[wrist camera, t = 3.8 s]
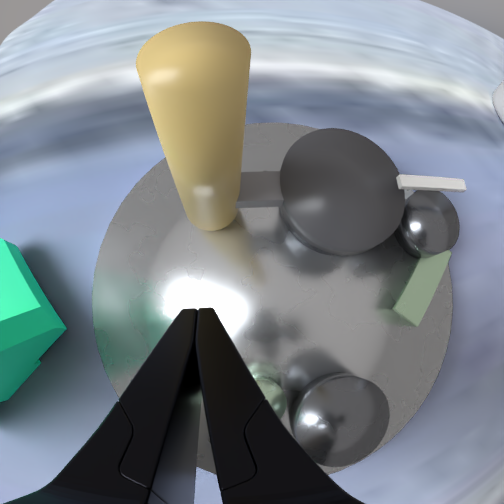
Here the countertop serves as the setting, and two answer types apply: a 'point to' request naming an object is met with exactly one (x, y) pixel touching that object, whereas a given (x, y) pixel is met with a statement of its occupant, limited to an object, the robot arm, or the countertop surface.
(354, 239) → the tan post with disc
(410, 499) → the countertop surface
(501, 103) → the milk bottle
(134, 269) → the plate
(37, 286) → the camera mount
